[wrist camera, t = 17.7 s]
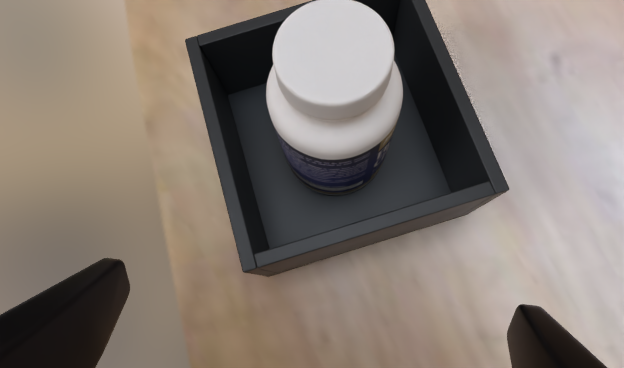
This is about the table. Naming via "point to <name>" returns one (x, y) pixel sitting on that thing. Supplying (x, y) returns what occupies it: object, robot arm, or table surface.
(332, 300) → the table surface
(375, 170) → the pill bottle
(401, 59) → the storage bin
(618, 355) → the table surface
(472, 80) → the table surface
